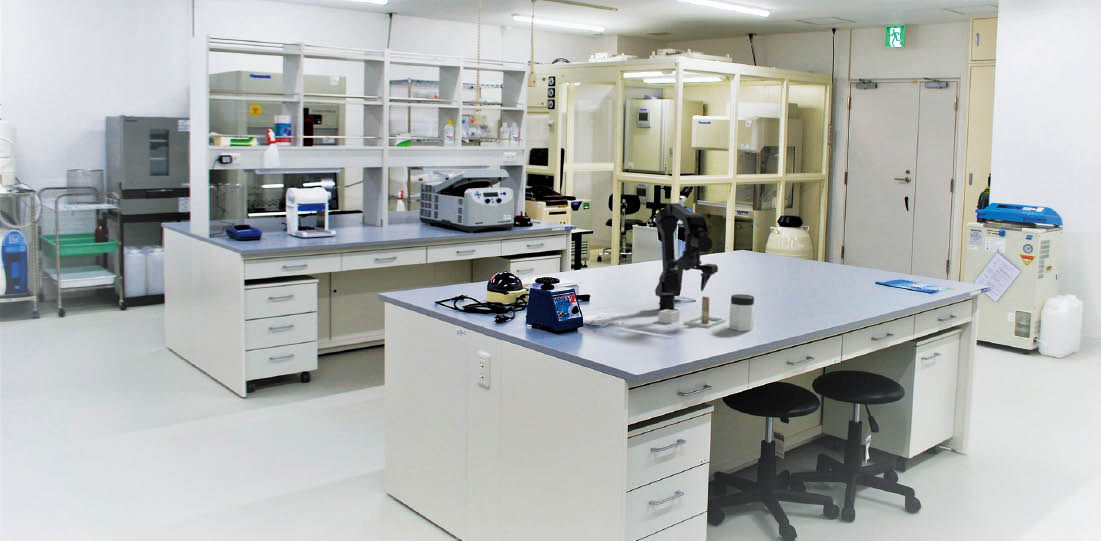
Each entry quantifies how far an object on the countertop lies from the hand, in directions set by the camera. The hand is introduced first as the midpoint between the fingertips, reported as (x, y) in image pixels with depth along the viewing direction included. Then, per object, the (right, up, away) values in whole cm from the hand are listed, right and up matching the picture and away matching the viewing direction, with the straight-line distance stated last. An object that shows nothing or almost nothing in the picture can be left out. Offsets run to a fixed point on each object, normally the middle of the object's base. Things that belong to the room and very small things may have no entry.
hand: (690, 289), depth 332 cm
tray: (+5, -13, -3) cm, 14 cm away
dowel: (+5, -13, -3) cm, 14 cm away
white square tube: (-8, -13, -1) cm, 15 cm away
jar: (+17, -14, -9) cm, 24 cm away
